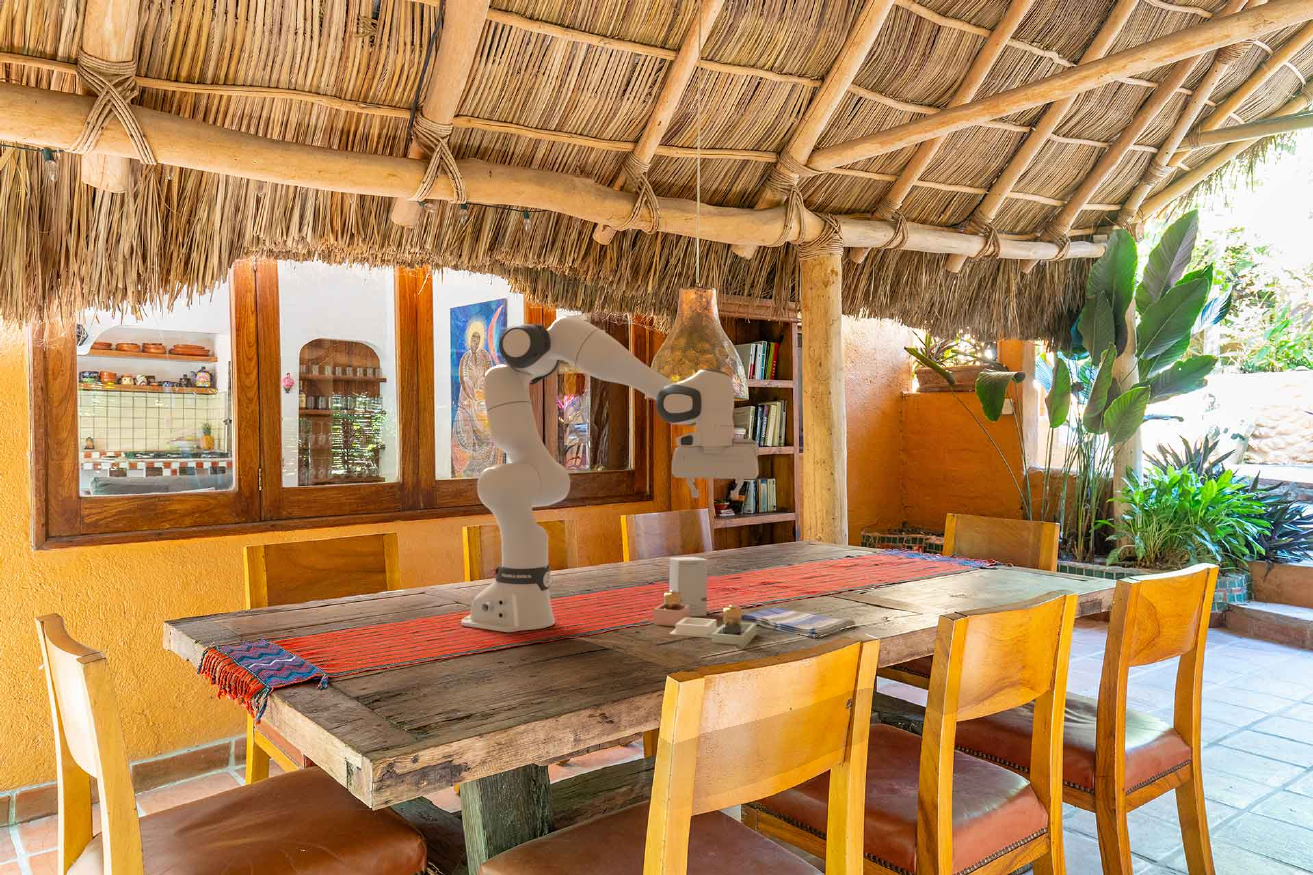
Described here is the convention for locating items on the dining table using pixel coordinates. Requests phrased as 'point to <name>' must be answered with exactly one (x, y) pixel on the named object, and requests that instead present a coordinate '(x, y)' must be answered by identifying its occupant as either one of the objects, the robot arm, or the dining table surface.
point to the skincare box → (690, 582)
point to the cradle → (695, 627)
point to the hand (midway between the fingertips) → (714, 497)
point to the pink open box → (670, 615)
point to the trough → (736, 639)
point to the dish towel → (797, 622)
